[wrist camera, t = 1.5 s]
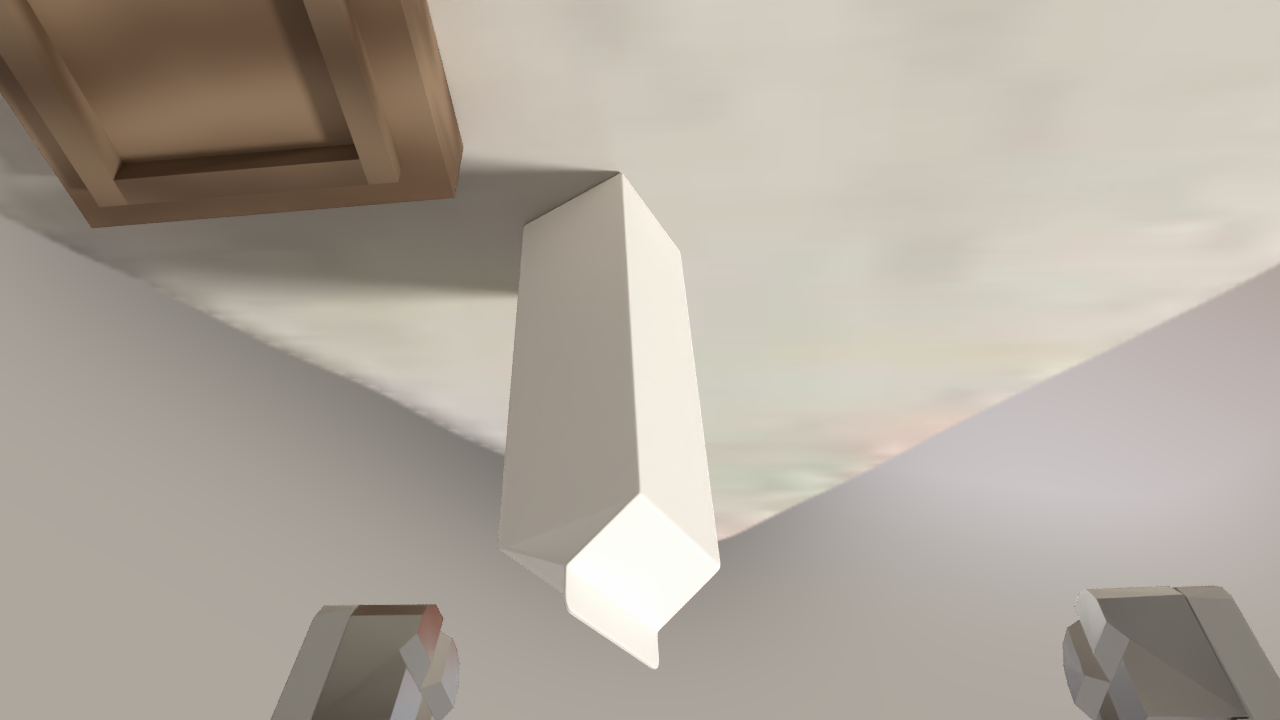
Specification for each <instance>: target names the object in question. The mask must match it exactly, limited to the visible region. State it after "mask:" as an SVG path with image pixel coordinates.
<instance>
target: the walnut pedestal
mask: <svg viewBox="0 0 1280 720" xmlns="http://www.w3.org/2000/svg"><path fill="white" fill-rule="evenodd" d="M0 92H1V93H2V95H3V96H4V98H5V99H6V101H7V102H8V104H9V105H10V107H11V108H12V110H13V111H14V113H15V114H16V116H17V117H18V119H19V120H20V122H21V123H22V125H23V126H24V128H25V129H26V131H27V132H28V134H29V135H30V137H31V138H32V140H33V141H34V143H35V144H36V146H37V147H38V149H39V150H40V151H41V153H42V154H43V156H44V157H45V159H46V160H47V162H48V163H49V165H50V166H51V168H52V169H53V171H54V172H55V174H56V175H57V177H58V178H59V180H60V181H61V183H62V184H63V186H64V187H65V189H66V190H67V192H68V193H69V195H70V196H71V198H72V199H73V201H74V202H75V204H76V205H77V207H78V208H79V210H80V211H81V212H82V214H83V215H84V217H85V218H86V220H87V221H88V223H89V224H90V226H91V227H92V228H99V227H111V226H123V225H135V224H147V223H158V222H170V221H182V220H194V219H206V218H218V217H230V216H242V215H254V214H266V213H278V212H290V211H302V210H314V209H325V208H337V207H349V206H361V205H373V204H385V203H397V202H409V201H421V200H433V199H445V198H454V197H455V191H456V186H457V180H458V175H459V169H460V164H461V158H462V153H463V144H462V140H461V136H460V132H459V128H458V124H457V120H456V116H455V112H454V108H453V104H452V100H451V96H450V92H449V88H448V84H447V80H446V76H445V72H444V68H443V64H442V60H441V56H440V52H439V48H438V44H437V40H436V36H435V32H434V29H433V25H432V21H431V17H430V13H429V9H428V5H427V1H426V0H0Z"/></svg>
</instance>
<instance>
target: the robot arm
mask: <svg viewBox="0 0 1280 720" xmlns="http://www.w3.org/2000/svg"><path fill="white" fill-rule="evenodd" d="M1074 607H1075V609H1076V612H1077V614H1078V616H1079V619H1080V620H1078V621H1077V622H1075V623H1074V624H1072V625H1071V626H1069V627H1068V628H1067V630H1066V634H1065V637H1064V641H1063V666H1064V671H1065V675H1066V679H1067V683H1068V687H1069V689H1070V692H1071V695H1072V698H1073V701H1074V704H1075V705H1076V706H1078V707H1079V708H1080V709H1081V710H1082V711H1083V712H1084V713H1085V714H1087V715H1088V716H1089V717H1090V718H1091V719H1092V720H1280V677H1279V675H1278V674H1277V672H1276V670H1275V669H1274V667H1273V665H1272V663H1271V662H1270V660H1269V658H1268V656H1267V655H1266V653H1265V651H1264V650H1263V648H1262V646H1261V645H1260V643H1259V641H1258V640H1257V638H1256V636H1255V634H1254V633H1253V631H1252V629H1251V628H1250V626H1249V624H1248V623H1247V621H1246V619H1245V617H1244V616H1243V614H1242V612H1241V611H1240V609H1239V607H1238V606H1237V604H1236V603H1235V601H1234V599H1233V597H1232V595H1231V594H1229V593H1228V592H1227V591H1226V590H1224V589H1223V588H1222V587H1218V586H1193V587H1170V586H1158V587H1157V586H1156V587H1131V588H1130V587H1129V588H1106V589H1105V588H1103V589H1085V590H1084V591H1082V592H1081V593H1079V595H1078V598H1077V601H1076V603H1075V606H1074ZM442 622H443V617H442V615H441V613H440V611H439V609H438V607H437V605H436V604H417V605H325V606H323V607H322V608H321V610H320V611H319V612H318V613H317V614H316V616H315V617H314V619H313V620H312V623H311V625H310V628H309V630H308V633H307V635H306V637H305V640H304V642H303V644H302V647H301V649H300V651H299V654H298V656H297V658H296V661H295V663H294V665H293V668H292V670H291V673H290V675H289V677H288V680H287V682H286V684H285V687H284V690H283V692H282V694H281V697H280V699H279V701H278V704H277V706H276V708H275V710H274V713H273V715H272V718H271V720H442V719H443V718H444V717H445V716H446V715H447V714H448V713H449V712H450V711H451V710H452V709H453V708H454V703H455V698H456V694H457V690H458V683H459V658H458V652H457V648H456V645H455V643H454V641H453V638H451V637H450V636H448V635H447V634H445V633H444V632H442V631H440V630H441V626H442Z"/></svg>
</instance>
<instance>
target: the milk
mask: <svg viewBox="0 0 1280 720" xmlns="http://www.w3.org/2000/svg"><path fill="white" fill-rule="evenodd" d="M498 549H499V550H501V551H502V552H503V553H505V554H506V555H508V556H509V557H511V558H512V559H514V560H515V561H517V562H518V563H519V564H521V565H522V566H524V567H525V568H527V569H528V570H529V571H531V572H532V573H534V574H535V575H537V576H538V577H539V578H541V579H542V580H544V581H545V582H547V583H548V584H550V585H551V586H553V587H554V588H555V589H557V590H558V591H560V592H561V593H563V597H564V603H565V607H566V609H567V611H568V612H569V613H570V614H572V615H573V616H575V617H576V618H577V619H579V620H581V621H582V622H584V623H585V624H586V625H588V626H589V627H591V628H592V629H594V630H595V631H597V632H598V633H600V634H601V635H603V636H604V637H606V638H607V639H609V640H610V641H612V642H613V643H614V644H616V645H618V646H619V647H620V648H622V649H623V650H625V651H626V652H628V653H629V654H631V655H632V656H634V657H635V658H637V659H638V660H640V661H641V662H643V663H644V664H646V665H647V666H649V667H650V668H652V669H656V668H657V667H658V665H659V655H658V639H657V633H658V631H659V630H660V629H661V628H662V627H663V626H664V624H666V623H667V622H668V621H669V620H670V619H671V618H672V617H673V616H674V615H675V614H676V613H677V612H678V611H679V610H680V609H681V607H683V606H684V605H685V604H686V602H688V600H690V599H691V597H693V596H694V594H695V593H697V591H699V590H700V588H701V587H702V586H703V585H704V584H705V583H707V582H708V580H709V579H710V578H711V577H712V576H713V575H714V574H715V573H716V572H717V571H718V570H719V569H720V558H719V551H718V543H717V535H716V527H715V519H714V511H713V504H712V496H711V488H710V480H709V472H708V464H707V457H706V449H705V441H704V433H703V425H702V418H701V410H700V402H699V394H698V386H697V379H696V371H695V363H694V355H693V347H692V340H691V332H690V324H689V316H688V308H687V301H686V293H685V285H684V277H683V269H682V262H681V254H680V251H679V250H678V248H677V247H676V246H675V244H674V243H673V242H672V240H671V239H670V237H669V236H668V235H667V233H666V232H665V231H664V229H663V228H662V227H661V225H660V224H659V223H658V221H657V220H656V218H655V217H654V216H653V214H652V213H651V212H650V210H649V209H648V208H647V206H646V205H645V204H644V202H643V201H642V199H641V198H640V197H639V195H638V194H637V193H636V191H635V190H634V189H633V187H632V186H631V184H630V183H629V182H628V180H627V179H626V178H625V176H624V175H623V174H622V173H619V174H617V175H616V176H614V177H612V178H610V179H608V180H606V181H605V182H603V183H601V184H599V185H597V186H595V187H594V188H592V189H590V190H588V191H586V192H584V193H583V194H581V195H579V196H577V197H575V198H573V199H572V200H570V201H568V202H566V203H564V204H563V205H561V206H559V207H557V208H555V209H553V210H552V211H550V212H548V213H546V214H544V215H542V216H541V217H539V218H537V219H535V220H533V221H531V222H530V223H528V224H526V225H525V226H524V228H523V240H522V252H521V264H520V277H519V289H518V302H517V314H516V327H515V339H514V351H513V364H512V376H511V389H510V401H509V414H508V426H507V439H506V451H505V464H504V476H503V488H502V502H501V514H500V526H499V539H498Z"/></svg>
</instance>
